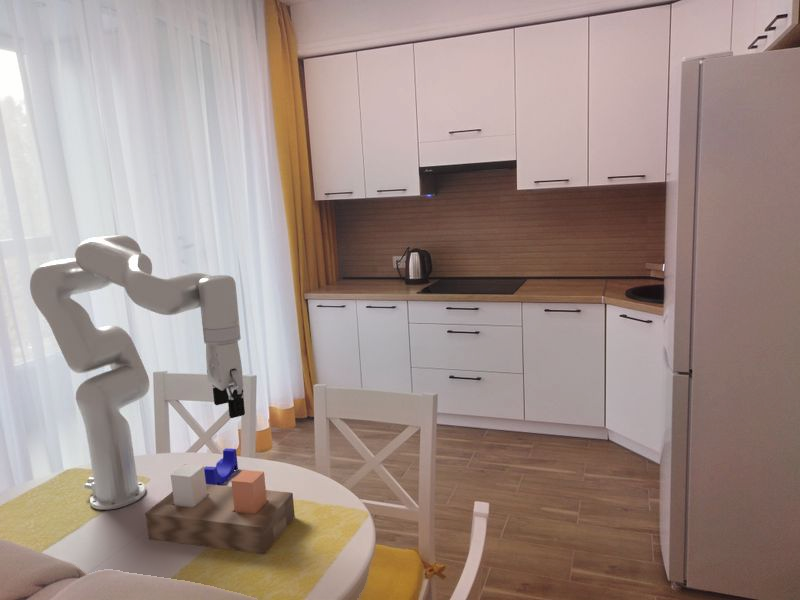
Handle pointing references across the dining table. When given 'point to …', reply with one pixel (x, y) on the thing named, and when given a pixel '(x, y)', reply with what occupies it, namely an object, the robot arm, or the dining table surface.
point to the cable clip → (222, 468)
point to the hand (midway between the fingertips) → (229, 409)
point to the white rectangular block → (189, 485)
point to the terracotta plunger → (249, 492)
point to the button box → (221, 521)
